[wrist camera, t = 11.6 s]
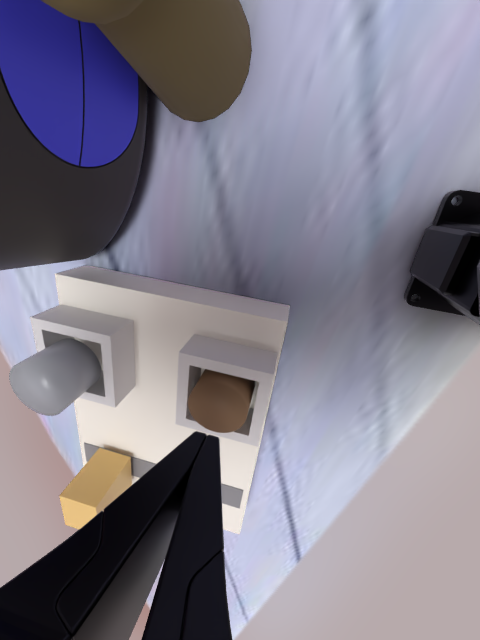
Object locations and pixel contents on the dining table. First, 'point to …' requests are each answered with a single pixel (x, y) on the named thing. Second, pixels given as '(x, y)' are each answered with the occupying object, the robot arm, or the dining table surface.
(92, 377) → the grey button
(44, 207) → the leaning round-cornered charcoal block
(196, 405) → the walnut button
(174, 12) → the olive knobbed pillar
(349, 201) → the dining table surface
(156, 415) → the control panel
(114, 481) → the tan wooden brick
